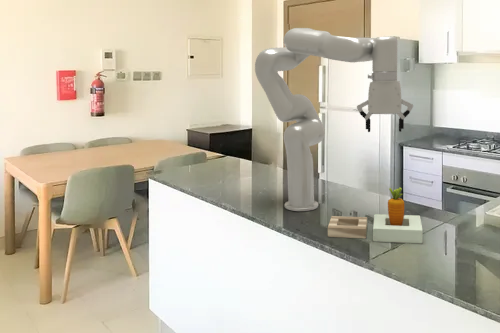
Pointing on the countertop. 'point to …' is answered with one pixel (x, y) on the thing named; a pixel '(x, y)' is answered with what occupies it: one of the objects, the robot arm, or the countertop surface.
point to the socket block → (347, 227)
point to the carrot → (396, 208)
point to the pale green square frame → (397, 229)
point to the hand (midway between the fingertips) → (384, 131)
